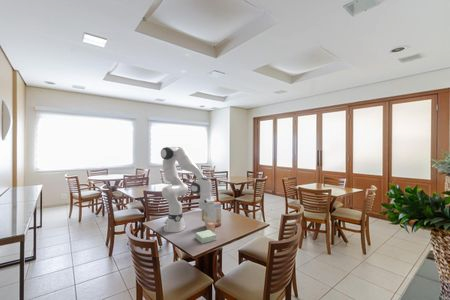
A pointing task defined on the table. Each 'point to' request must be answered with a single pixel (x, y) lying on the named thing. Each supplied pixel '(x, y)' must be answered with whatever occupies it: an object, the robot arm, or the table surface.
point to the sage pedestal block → (206, 236)
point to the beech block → (204, 217)
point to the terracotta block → (211, 226)
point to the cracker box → (215, 215)
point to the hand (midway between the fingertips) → (206, 216)
